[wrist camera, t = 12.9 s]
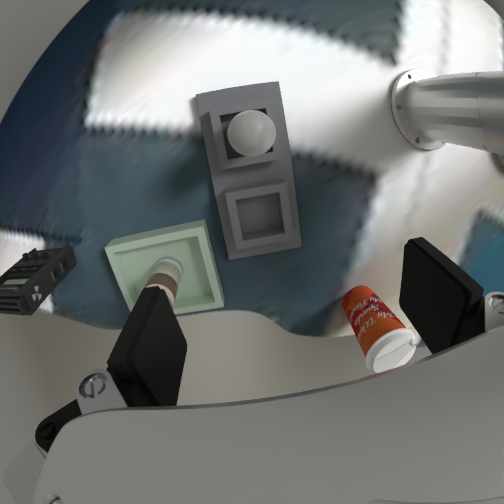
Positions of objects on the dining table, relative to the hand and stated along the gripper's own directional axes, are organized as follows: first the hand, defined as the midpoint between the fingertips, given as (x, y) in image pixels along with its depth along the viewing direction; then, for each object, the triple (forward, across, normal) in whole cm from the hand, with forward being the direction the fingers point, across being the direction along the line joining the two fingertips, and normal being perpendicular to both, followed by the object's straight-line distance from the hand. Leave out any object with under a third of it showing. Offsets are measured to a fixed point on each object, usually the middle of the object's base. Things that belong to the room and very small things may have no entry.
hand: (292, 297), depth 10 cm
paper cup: (+28, -13, +23) cm, 38 cm away
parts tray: (+26, +15, +10) cm, 32 cm away
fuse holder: (+27, +1, 0) cm, 27 cm away
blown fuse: (+26, +14, +10) cm, 31 cm away
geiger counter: (+26, +34, +4) cm, 43 cm away
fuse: (+26, 0, -5) cm, 27 cm away
